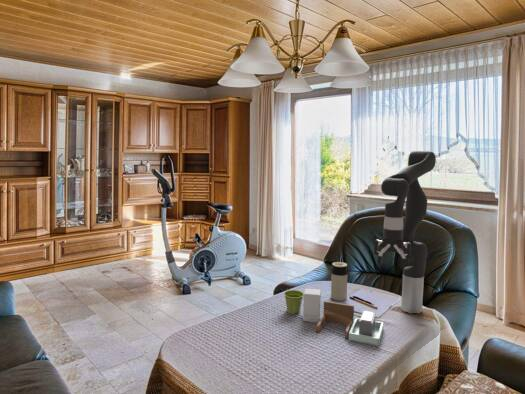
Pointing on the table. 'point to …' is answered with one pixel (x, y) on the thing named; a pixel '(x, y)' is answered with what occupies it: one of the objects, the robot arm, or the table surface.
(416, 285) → the robot arm
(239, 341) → the table surface
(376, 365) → the table surface
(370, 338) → the tray
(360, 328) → the grey rectangular block
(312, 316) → the supplement box
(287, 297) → the plant pot
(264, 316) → the table surface
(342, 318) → the dock
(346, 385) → the table surface
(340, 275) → the travel mug
